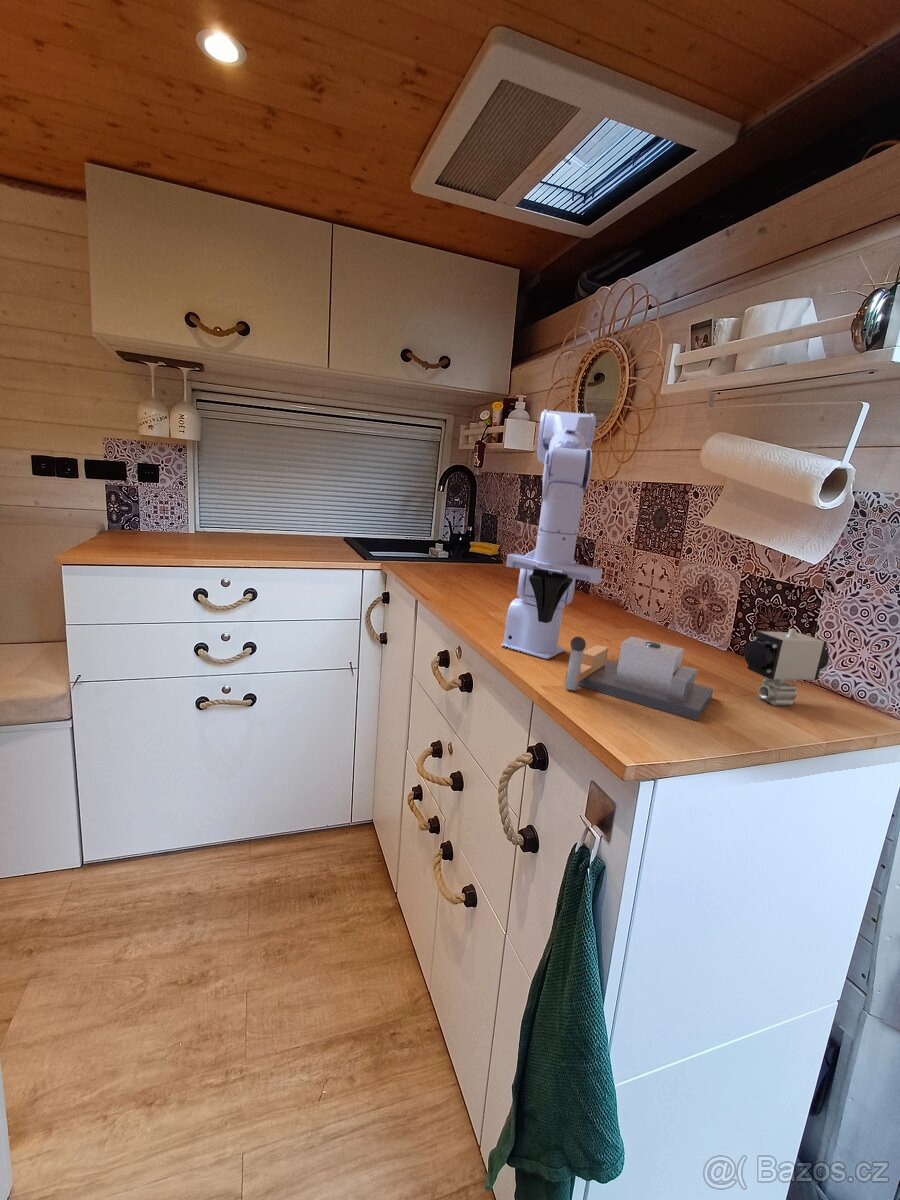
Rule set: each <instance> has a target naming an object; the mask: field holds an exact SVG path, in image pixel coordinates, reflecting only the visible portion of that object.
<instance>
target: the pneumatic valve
mask: <svg viewBox="0 0 900 1200" xmlns="http://www.w3.org/2000/svg"><path fill="white" fill-rule="evenodd" d="M827 644H828V641H827V640H823V639H821V638H817V637H815V636H811V635H809V634H805V633H803V632H797V629H796V628H788V632H786V631H785V632H782V631H762V630H761V631H760V630H759V631H755V634H754V637H753V638H752V640H751V641H749V642H748V643H747V645H746V646H745V648H744V660H745V662H746V664H747V669H748V670H749V671H752V672H754V673H755V674H758V675H760V676H763V677H764V678H763V679H762V680H761V685H760V686H759V688H758V698H759V699H760V700H763V701H765V702H768V703H770V705H772V706H774V707H779V706H780V707H792V706H793V705H794V701H793V700H794V699H796V697H797V696H798V692H797V691H798V686H797V685H796V684H790V683H789V682H787V681H791V682H793V683H795V682H796V681H797V680H800V681H801V680H802V681H806V680H807V681H817V680H818V679H819V676H820V674H821V670H823V669H825V668H826V667H827V665H828V664H829V660H830V655H829V650H828V649H827Z"/></svg>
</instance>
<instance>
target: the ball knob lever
mask: <svg viewBox="0 0 900 1200" xmlns="http://www.w3.org/2000/svg"><path fill="white" fill-rule="evenodd" d="M586 642H587V641H586V640H585V639H584V637H581V636H575V637H573V638H572V639H571V640H570V654H569V658H568V659H569V660H568V667H567V670H566V671H565V676H564V679H565V685H564V687H565V689H566V690H569V691H577V690H578V687H579V686H578V682H579V681H581V680H582V679H584V678H585V677H587V676H588V675H590V674H591V673H593V672H594V671H596V670H598V669H599V668H601V667H602V666H604V665H605V664H606V661H607V658H608V651H609V647H607V646H604V645H600V644H595V645H594V646H592V647H589V648H588V649H586V646H587V644H586ZM585 649H586V650H585Z"/></svg>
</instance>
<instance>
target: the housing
mask: <svg viewBox="0 0 900 1200" xmlns="http://www.w3.org/2000/svg"><path fill="white" fill-rule="evenodd" d="M684 650H685V649H684V648H682V647H677V646H674V645H670V644H665V643H661V642H657V641H653V640H649V639H643V638H639V637H637V636H636V637H635V636H630V637H628V638H626V639H625V640H623V641H622V642H621V646H620V652H619V657H618V661H617V662H618V663H617V664H618V668H617V674H616V679H617V680H620V681H624V682H627V683H631V684H635V685H638V686H642V687H645V688H649V689H652V690H656V691H660V692H663V693H667V694H669V690H670V685H671V680H672V677H673V676H674V675H675V674H676V673H677V672H678V671H679V670H680V669H681V664H682V659H683V655H684Z"/></svg>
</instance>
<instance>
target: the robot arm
mask: <svg viewBox="0 0 900 1200" xmlns="http://www.w3.org/2000/svg"><path fill="white" fill-rule="evenodd" d="M540 415H541V416H540V420H539V421H540V422H539V429H538V436H537V437H538V438H537V443H538V444H537V449H536V450H537V451H536V454H537V460H538V462H540V463H541V464H542V465H544V466H543V471H542V472H543V473H542V495H541V498H542V503H541V507H540V515H539V522H538V529H537V536H536V543H535V544H536V545H535V549H533V550H531V551H529V552H527V553H526V554H525V555H523V554H518V553H517V554H516V553H509V554H508V553H507V556H506V564H505V567H506V568H507V567H508V568H516V569H519V570H520V571H519V576H518V584H517V592H516V595H517V598H516V597H515V598H514V599H513V600H512V601H511V602H510V604H509V606H508V609H507V612H506V613H507V614H506V619H505V627H504V636H503V641H502V642H503V643H501V644H500V646H501V645H502V646H505V647H504V648H506V647H508V648H507V649H509V648H511V649H510V650H513V649H514V650H513V651H516V650H517V652H520V651H521V652H520V653H525V654H528V655H531V656H535V657H539V658H542V659H546V660H549V659H551V658H553V657H554V656H557V655H559V654H561V653H563V652H565V651H566V650H565V648H564V647H562V646H558V645H559V637H560V633H561V632H560V630H561V625H562V617H563V611H564V608H565V606H566V605H569V604H570V603H572V601H573V599H574V593H575V588H576V580H581V581H583V582H584V581H585V582H589V583H590V584H600V583H601V582H602V576H603V569H601V568H596V567H592V566H587V565H584V564H578V563H576V561H575V554H576V553H575V552H576V546H577V545H576V544H577V540H578V538H577V537H578V532H579V525H580V520H581V513H582V506H583V500H584V491H586V490H587V488H588V485H589V483H590V479H591V473H592V466H593V451H592V449H591V447H592V446H593V442H594V438H595V431H596V424H597V417H596V415H595V413H592V412H590V414H589V413H581V412H580V413H579V412H567V411H558V410H548V409H544V410H543V411H542V412H541V414H540ZM583 490H584V491H583ZM502 646H501V647H502Z"/></svg>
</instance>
